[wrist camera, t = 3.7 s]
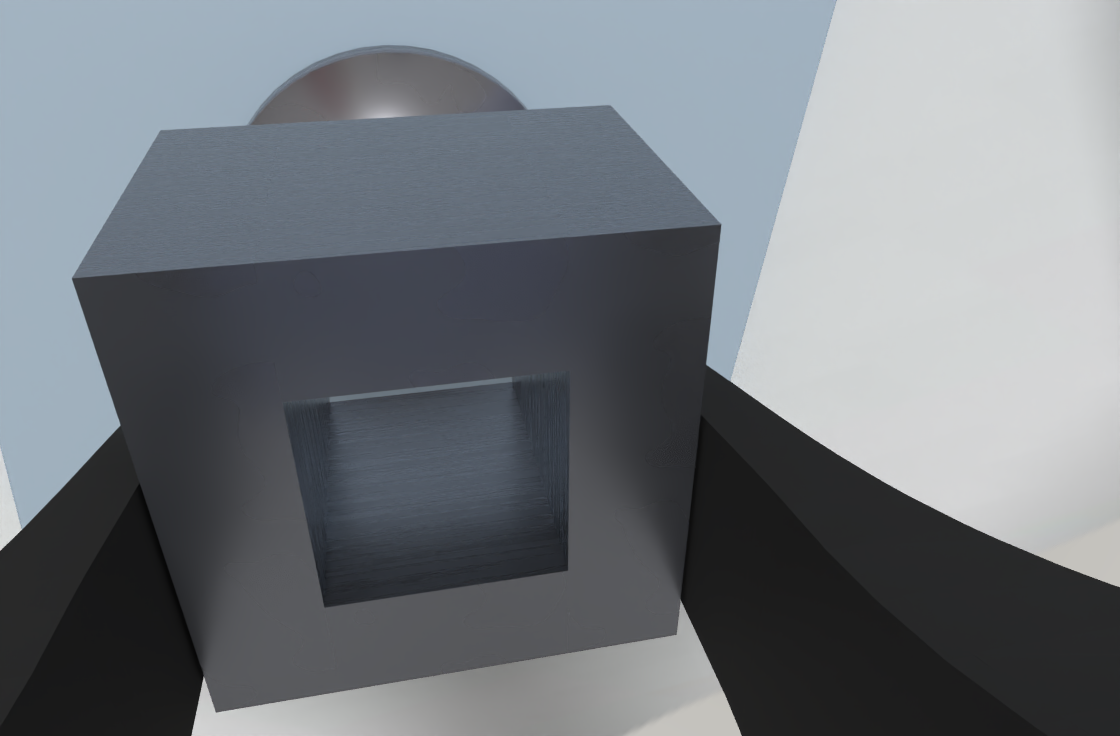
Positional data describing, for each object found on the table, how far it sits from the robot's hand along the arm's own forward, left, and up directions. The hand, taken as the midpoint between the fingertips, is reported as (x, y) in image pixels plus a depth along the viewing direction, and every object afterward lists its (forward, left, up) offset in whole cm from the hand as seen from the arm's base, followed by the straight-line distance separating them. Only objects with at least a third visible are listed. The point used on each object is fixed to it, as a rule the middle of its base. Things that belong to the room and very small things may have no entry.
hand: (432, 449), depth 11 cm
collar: (0, -1, -2) cm, 2 cm away
